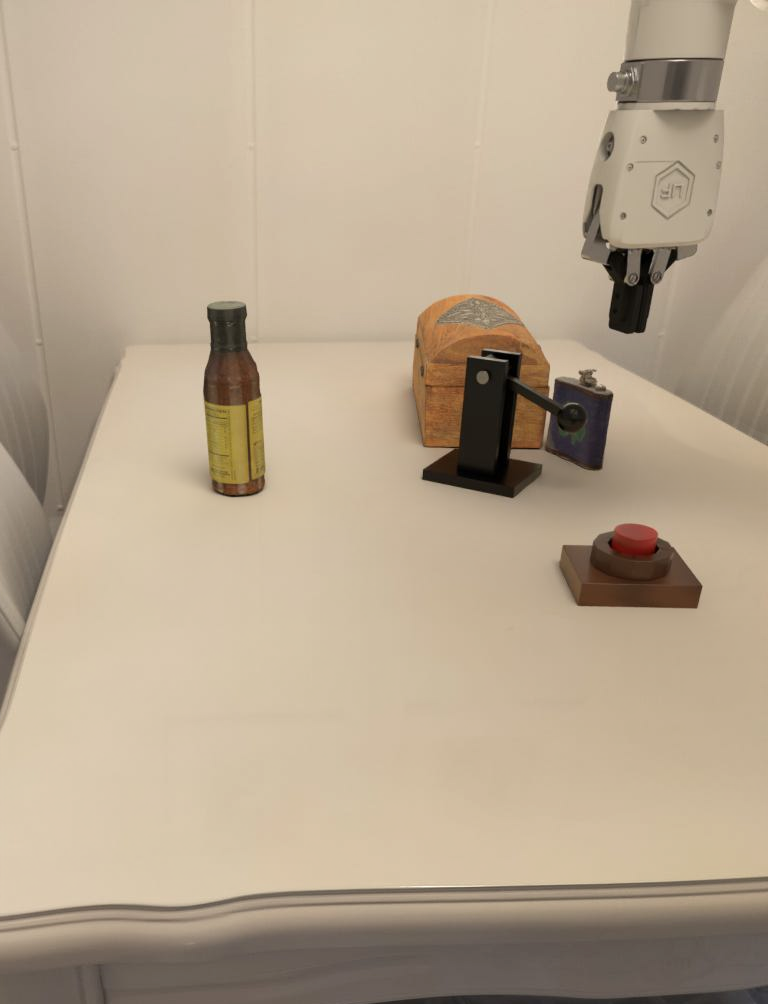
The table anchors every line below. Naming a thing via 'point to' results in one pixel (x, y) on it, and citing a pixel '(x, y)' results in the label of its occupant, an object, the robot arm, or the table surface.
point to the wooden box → (443, 357)
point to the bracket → (486, 432)
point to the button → (634, 539)
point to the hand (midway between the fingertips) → (626, 330)
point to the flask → (592, 438)
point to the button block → (628, 576)
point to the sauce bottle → (233, 404)
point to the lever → (550, 405)
